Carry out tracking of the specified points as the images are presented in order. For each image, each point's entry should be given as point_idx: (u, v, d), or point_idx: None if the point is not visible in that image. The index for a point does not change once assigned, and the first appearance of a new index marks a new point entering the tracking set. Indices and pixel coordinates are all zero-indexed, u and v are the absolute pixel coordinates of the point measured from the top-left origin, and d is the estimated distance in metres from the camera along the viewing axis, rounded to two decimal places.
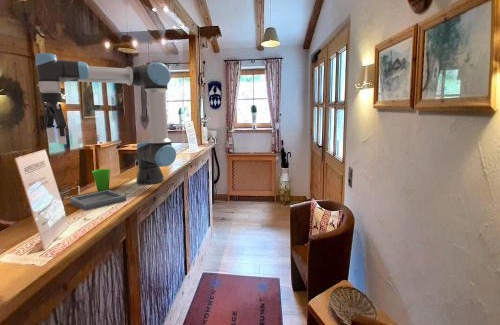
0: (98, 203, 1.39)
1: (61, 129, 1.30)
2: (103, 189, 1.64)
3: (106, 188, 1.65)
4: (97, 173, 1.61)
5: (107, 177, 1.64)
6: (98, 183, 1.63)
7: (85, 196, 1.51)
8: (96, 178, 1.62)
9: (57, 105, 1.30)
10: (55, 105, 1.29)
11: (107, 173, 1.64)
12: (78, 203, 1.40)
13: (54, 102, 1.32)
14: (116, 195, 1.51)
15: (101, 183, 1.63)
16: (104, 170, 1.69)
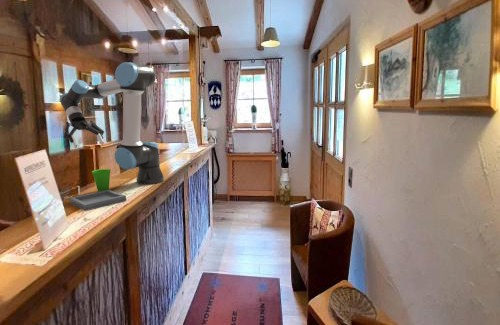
0: (98, 203, 1.39)
1: (68, 138, 1.66)
2: (103, 189, 1.64)
3: (106, 188, 1.65)
4: (97, 173, 1.61)
5: (107, 177, 1.64)
6: (98, 183, 1.63)
7: (85, 196, 1.51)
8: (96, 178, 1.62)
9: None
10: (65, 125, 1.71)
11: (107, 173, 1.64)
12: (78, 203, 1.40)
13: (71, 122, 1.73)
14: (116, 195, 1.51)
15: (101, 183, 1.63)
16: (104, 170, 1.69)
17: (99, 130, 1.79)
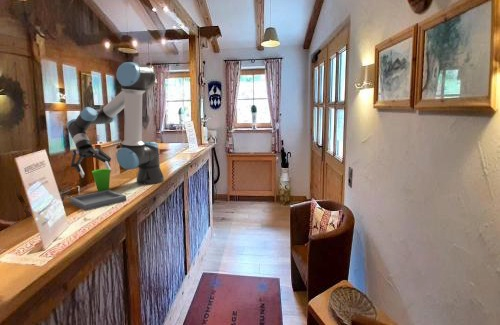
0: (98, 203, 1.39)
1: (75, 167, 1.64)
2: (103, 189, 1.64)
3: (106, 188, 1.65)
4: (97, 173, 1.61)
5: (107, 177, 1.64)
6: (98, 183, 1.63)
7: (85, 196, 1.51)
8: (96, 178, 1.62)
9: None
10: (72, 153, 1.69)
11: (107, 173, 1.64)
12: (78, 203, 1.40)
13: (78, 150, 1.71)
14: (116, 195, 1.51)
15: (101, 183, 1.63)
16: (104, 170, 1.69)
17: (106, 157, 1.77)
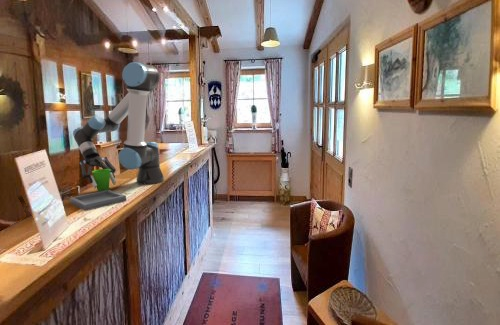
0: (98, 203, 1.39)
1: (87, 178, 1.62)
2: (103, 189, 1.64)
3: (106, 188, 1.65)
4: (97, 173, 1.61)
5: (107, 177, 1.64)
6: (98, 183, 1.63)
7: (85, 196, 1.51)
8: (96, 178, 1.62)
9: (80, 162, 1.65)
10: (80, 163, 1.66)
11: (107, 173, 1.64)
12: (78, 203, 1.40)
13: (84, 159, 1.68)
14: (116, 195, 1.51)
15: (101, 183, 1.63)
16: (104, 170, 1.69)
17: (111, 168, 1.72)
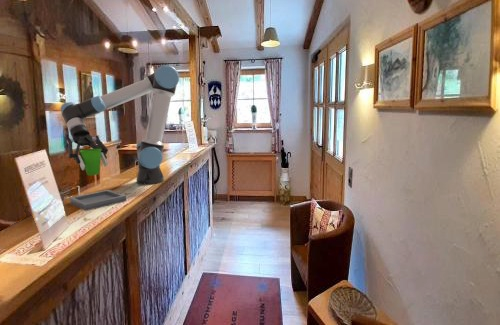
0: (98, 203, 1.39)
1: (75, 158, 1.41)
2: (92, 171, 1.43)
3: (96, 170, 1.44)
4: (85, 152, 1.40)
5: (97, 157, 1.43)
6: (87, 164, 1.42)
7: (85, 196, 1.51)
8: (84, 158, 1.41)
9: (66, 141, 1.44)
10: (66, 142, 1.45)
11: (97, 153, 1.43)
12: (78, 203, 1.40)
13: None
14: (116, 195, 1.51)
15: (90, 164, 1.42)
16: (94, 150, 1.48)
17: None
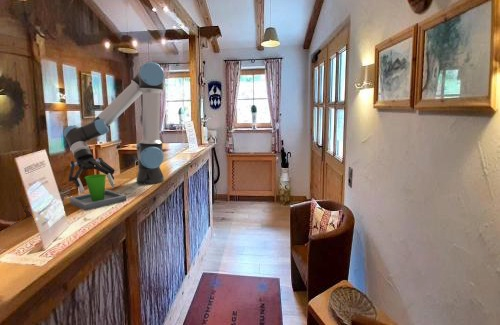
0: (98, 203, 1.39)
1: (74, 181, 1.41)
2: (97, 197, 1.45)
3: (101, 196, 1.46)
4: (90, 179, 1.42)
5: (102, 183, 1.45)
6: (92, 190, 1.44)
7: (85, 196, 1.51)
8: (89, 185, 1.43)
9: (70, 164, 1.46)
10: (70, 165, 1.46)
11: (102, 179, 1.45)
12: (78, 203, 1.40)
13: (76, 161, 1.48)
14: (116, 195, 1.51)
15: (95, 191, 1.44)
16: (99, 176, 1.50)
17: (109, 169, 1.54)
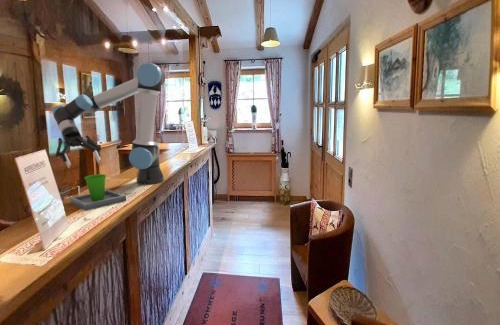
0: (98, 203, 1.39)
1: (61, 156, 1.48)
2: (97, 197, 1.45)
3: (101, 196, 1.46)
4: (90, 179, 1.42)
5: (102, 184, 1.45)
6: (92, 190, 1.44)
7: (85, 196, 1.51)
8: (89, 185, 1.43)
9: (58, 140, 1.53)
10: (58, 141, 1.53)
11: (102, 179, 1.45)
12: (78, 203, 1.40)
13: (64, 138, 1.55)
14: (116, 195, 1.51)
15: (95, 191, 1.44)
16: (99, 176, 1.50)
17: (96, 146, 1.61)
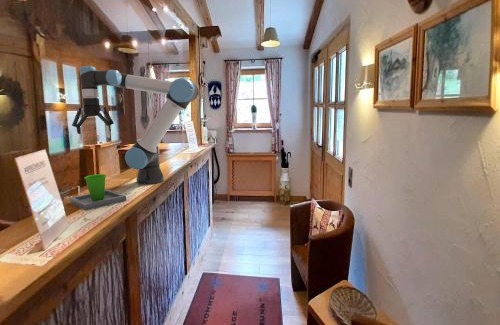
0: (98, 203, 1.39)
1: None
2: (97, 197, 1.45)
3: (101, 196, 1.46)
4: (90, 179, 1.42)
5: (102, 184, 1.45)
6: (92, 191, 1.44)
7: (85, 196, 1.51)
8: (89, 185, 1.43)
9: (78, 108, 1.62)
10: (77, 108, 1.62)
11: (102, 179, 1.44)
12: (78, 203, 1.40)
13: None
14: (116, 195, 1.51)
15: (95, 191, 1.44)
16: (99, 175, 1.50)
17: None
